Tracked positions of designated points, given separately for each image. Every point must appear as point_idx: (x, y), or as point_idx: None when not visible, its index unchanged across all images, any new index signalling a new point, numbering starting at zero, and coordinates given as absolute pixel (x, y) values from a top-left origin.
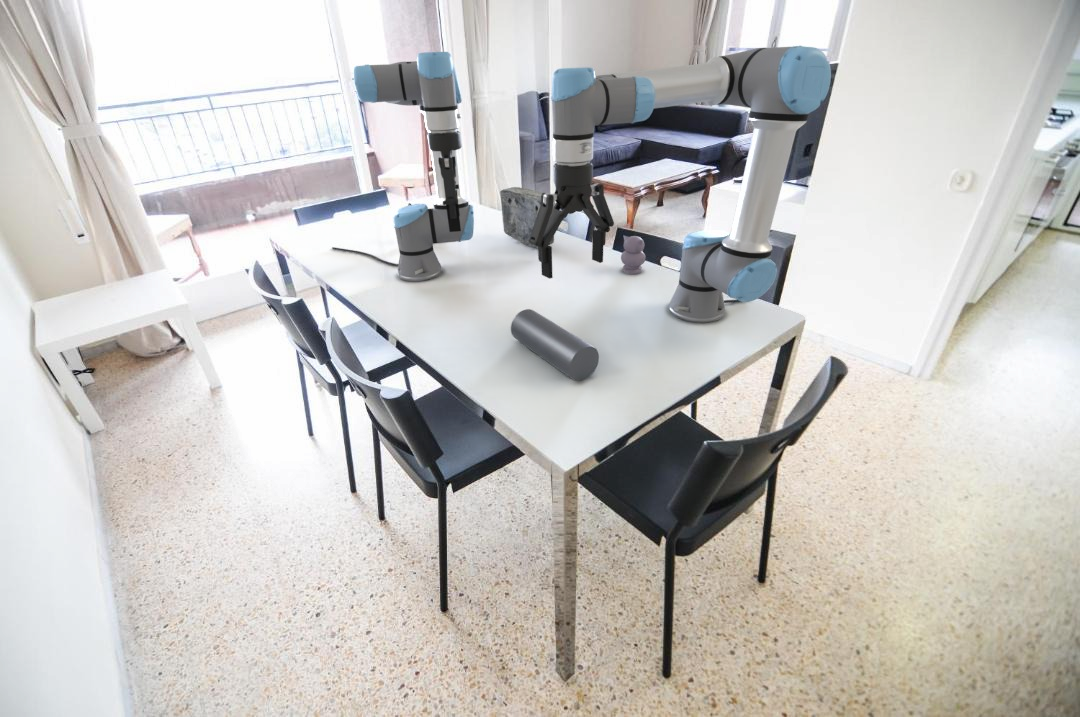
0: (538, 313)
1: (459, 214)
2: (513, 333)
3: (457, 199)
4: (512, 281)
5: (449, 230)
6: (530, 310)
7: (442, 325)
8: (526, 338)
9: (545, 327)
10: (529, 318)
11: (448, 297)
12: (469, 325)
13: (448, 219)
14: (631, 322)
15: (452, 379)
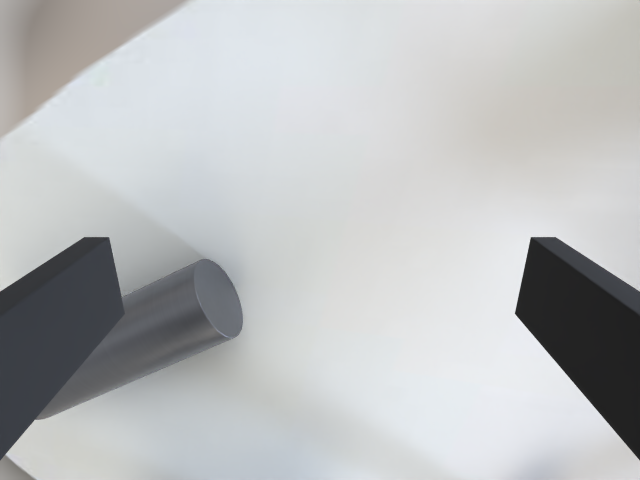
0: (208, 345)
1: (521, 318)
2: (190, 265)
3: (599, 409)
4: None
5: (79, 242)
6: (207, 333)
7: (350, 68)
8: (136, 294)
9: (107, 353)
10: (162, 325)
11: (549, 87)
12: (331, 149)
13: (15, 288)
14: (270, 467)
15: (55, 97)
